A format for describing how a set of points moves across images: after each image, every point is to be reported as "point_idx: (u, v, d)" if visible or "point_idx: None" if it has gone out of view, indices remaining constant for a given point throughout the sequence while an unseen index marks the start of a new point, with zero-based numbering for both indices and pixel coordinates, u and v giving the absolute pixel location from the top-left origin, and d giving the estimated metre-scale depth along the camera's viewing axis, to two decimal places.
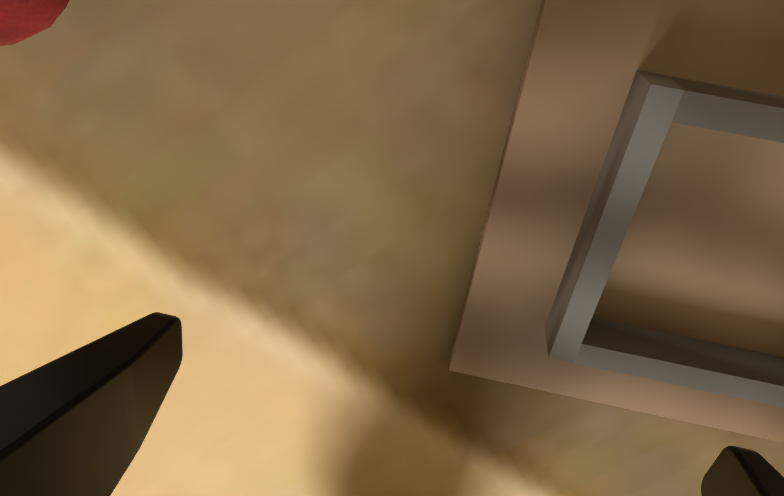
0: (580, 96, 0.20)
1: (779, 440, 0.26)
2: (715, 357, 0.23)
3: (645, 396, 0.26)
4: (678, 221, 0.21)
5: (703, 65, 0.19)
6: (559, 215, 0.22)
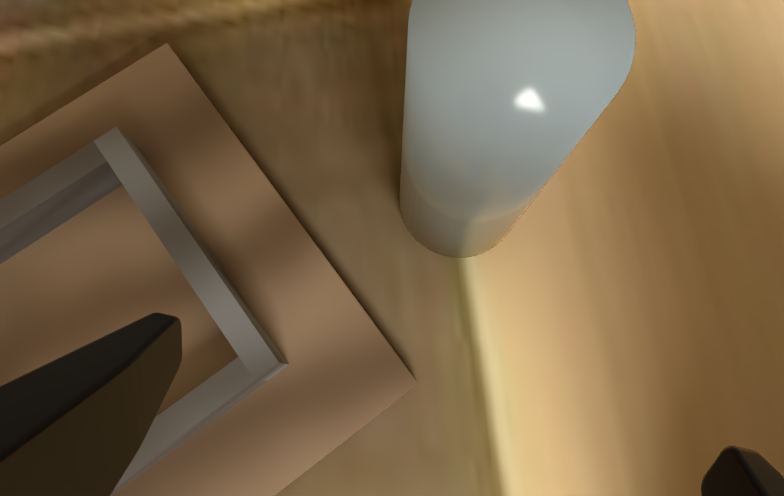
0: None
1: (354, 430, 0.21)
2: None
3: None
4: (33, 358, 0.22)
5: None
6: None
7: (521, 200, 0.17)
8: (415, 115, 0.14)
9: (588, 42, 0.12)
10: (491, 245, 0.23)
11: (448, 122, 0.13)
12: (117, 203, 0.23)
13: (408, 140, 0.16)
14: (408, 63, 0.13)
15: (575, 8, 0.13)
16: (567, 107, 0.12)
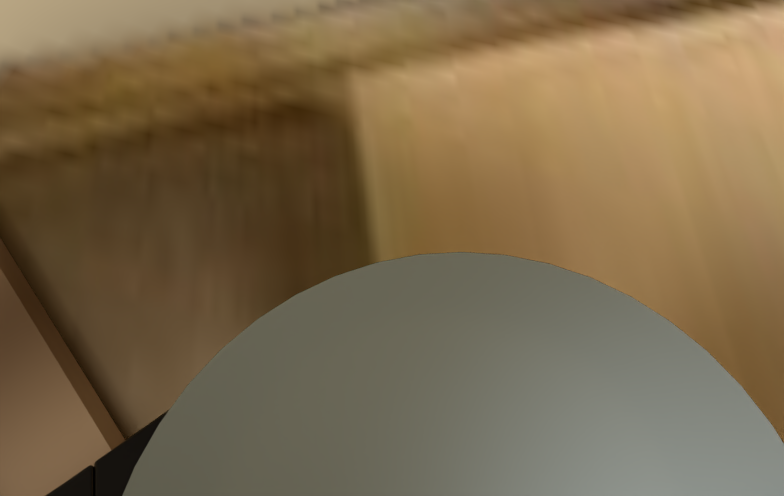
0: None
1: None
2: None
3: None
4: None
5: None
6: None
7: None
8: None
9: None
10: None
11: None
12: None
13: None
14: None
15: None
16: None
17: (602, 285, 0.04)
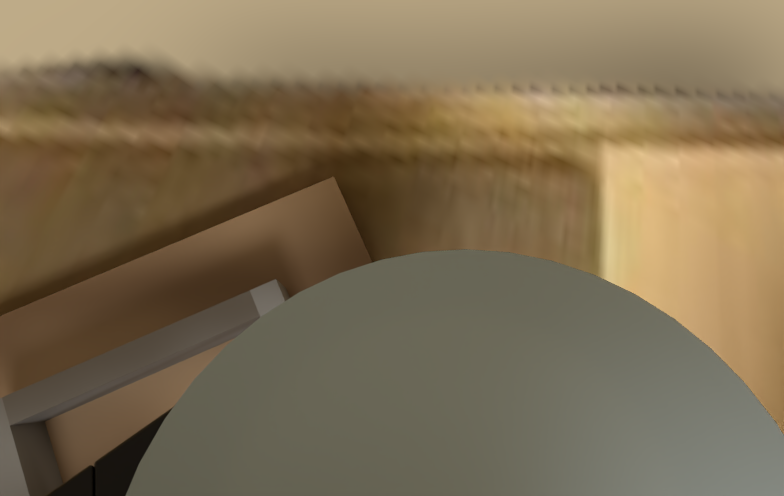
0: None
1: None
2: None
3: None
4: None
5: (59, 372, 0.22)
6: None
7: None
8: None
9: None
10: None
11: None
12: None
13: None
14: None
15: None
16: None
17: (606, 281, 0.04)
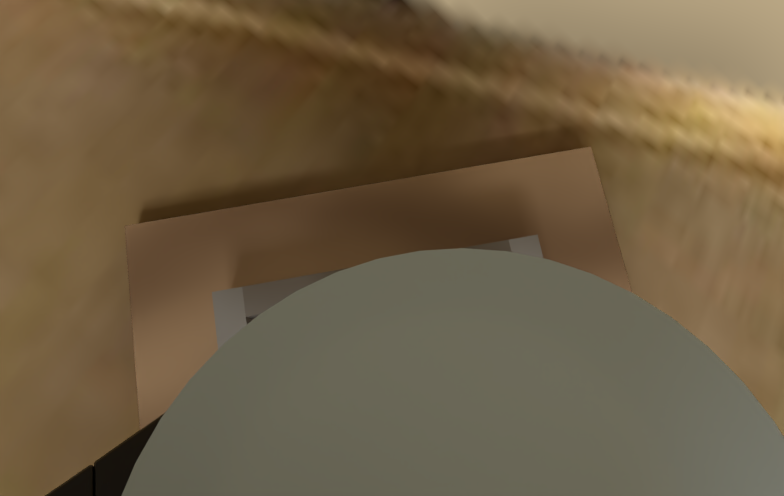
0: (190, 340, 0.20)
1: None
2: None
3: None
4: None
5: (281, 277, 0.21)
6: None
7: None
8: None
9: None
10: None
11: None
12: None
13: None
14: None
15: None
16: None
17: (604, 281, 0.04)
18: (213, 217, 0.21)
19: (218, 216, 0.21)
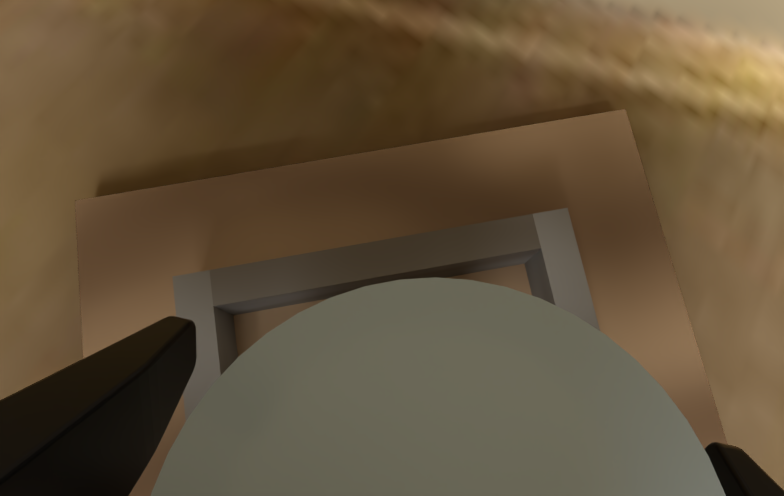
0: None
1: None
2: None
3: None
4: None
5: None
6: None
7: None
8: None
9: None
10: None
11: None
12: None
13: None
14: None
15: None
16: None
17: (550, 303, 0.05)
18: (180, 191, 0.18)
19: (186, 189, 0.18)
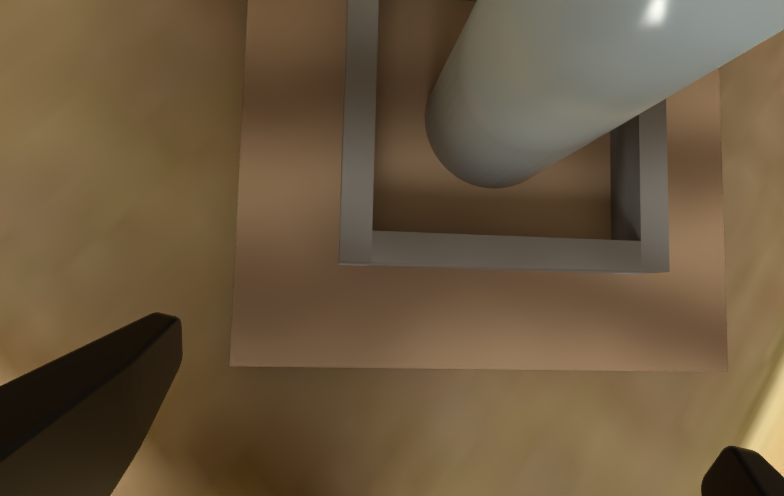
0: None
1: (653, 368, 0.21)
2: None
3: (484, 341, 0.20)
4: None
5: None
6: (317, 115, 0.20)
7: (597, 133, 0.14)
8: None
9: None
10: (521, 181, 0.20)
11: None
12: None
13: (485, 24, 0.13)
14: None
15: None
16: (746, 14, 0.09)
17: None
18: None
19: None
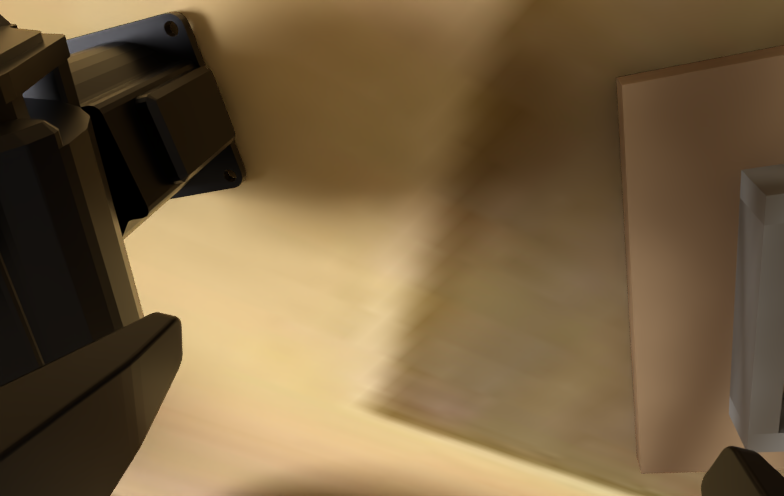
0: None
1: (640, 428, 0.25)
2: None
3: (659, 307, 0.22)
4: None
5: None
6: None
7: None
8: None
9: None
10: None
11: None
12: None
13: None
14: None
15: None
16: None
17: None
18: None
19: None
